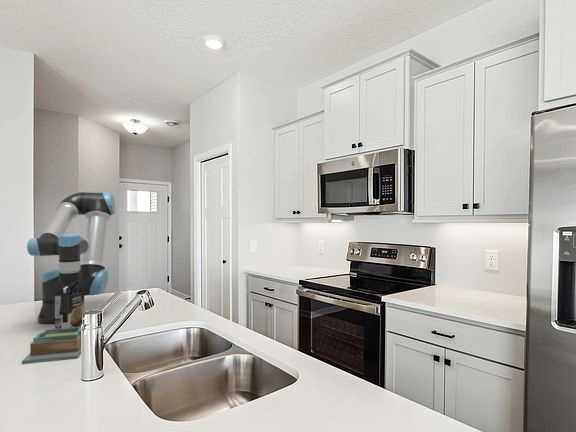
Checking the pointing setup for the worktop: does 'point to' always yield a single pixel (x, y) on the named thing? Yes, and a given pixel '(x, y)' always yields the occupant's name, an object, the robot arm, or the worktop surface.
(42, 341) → the riser
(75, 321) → the coffee box
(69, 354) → the baseplate
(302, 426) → the worktop surface
